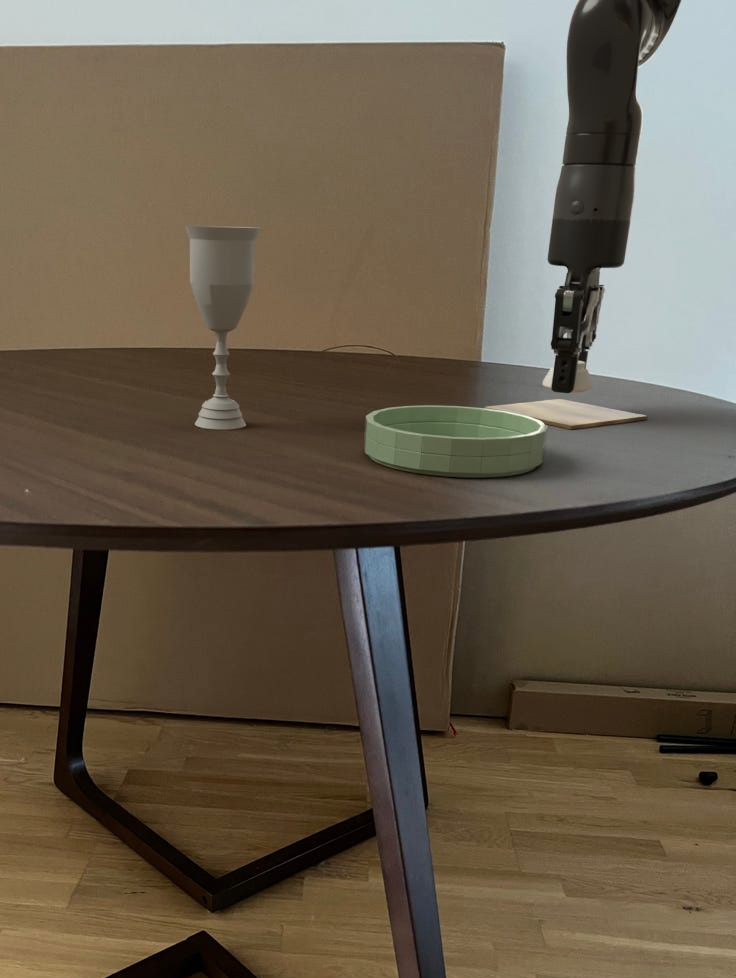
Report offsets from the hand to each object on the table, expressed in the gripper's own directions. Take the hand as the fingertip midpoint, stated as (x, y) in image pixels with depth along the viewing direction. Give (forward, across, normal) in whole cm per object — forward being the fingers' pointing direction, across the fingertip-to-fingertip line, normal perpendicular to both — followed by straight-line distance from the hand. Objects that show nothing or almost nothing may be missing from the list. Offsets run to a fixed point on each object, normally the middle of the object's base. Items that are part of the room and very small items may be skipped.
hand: (567, 388), depth 109 cm
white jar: (0, 0, 0) cm, 0 cm away
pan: (+3, -27, +4) cm, 28 cm away
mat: (+3, 0, 0) cm, 3 cm away
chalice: (+3, -25, +28) cm, 38 cm away
